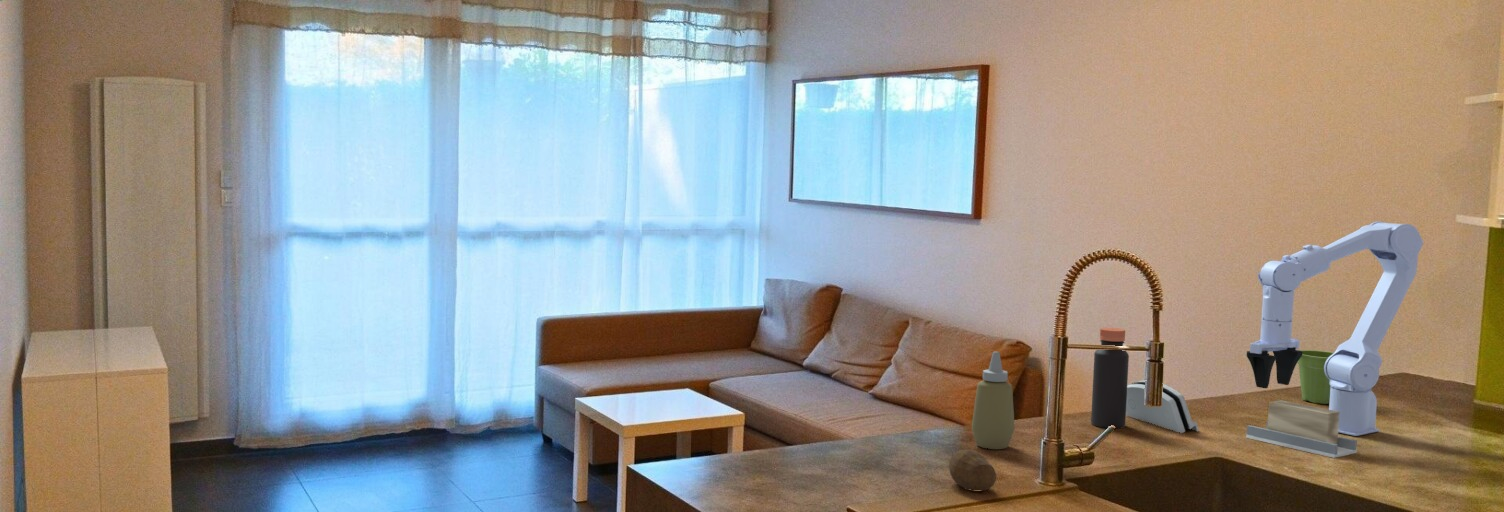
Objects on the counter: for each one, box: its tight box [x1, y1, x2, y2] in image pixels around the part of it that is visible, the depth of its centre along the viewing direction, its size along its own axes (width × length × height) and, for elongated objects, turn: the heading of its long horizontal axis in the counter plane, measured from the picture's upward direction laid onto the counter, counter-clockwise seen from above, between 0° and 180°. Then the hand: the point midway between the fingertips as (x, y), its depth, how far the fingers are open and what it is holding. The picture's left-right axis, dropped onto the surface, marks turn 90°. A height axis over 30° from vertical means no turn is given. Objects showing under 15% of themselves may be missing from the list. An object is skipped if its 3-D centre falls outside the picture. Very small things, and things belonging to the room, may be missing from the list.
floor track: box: [1245, 421, 1358, 459], centre depth 226 cm, size 8×18×2 cm, turn 35°
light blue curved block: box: [1126, 380, 1200, 434], centre depth 242 cm, size 17×5×10 cm, turn 21°
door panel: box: [1267, 400, 1340, 444], centre depth 226 cm, size 4×12×7 cm, turn 35°
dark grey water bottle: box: [1090, 327, 1130, 429], centre depth 238 cm, size 7×7×20 cm
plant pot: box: [1297, 349, 1335, 405], centre depth 270 cm, size 12×12×11 cm
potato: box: [948, 449, 997, 491], centre depth 190 cm, size 7×10×6 cm
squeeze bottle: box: [971, 351, 1015, 450], centre depth 218 cm, size 8×8×18 cm
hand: (1272, 385), depth 237 cm, fingers open, 7 cm apart
